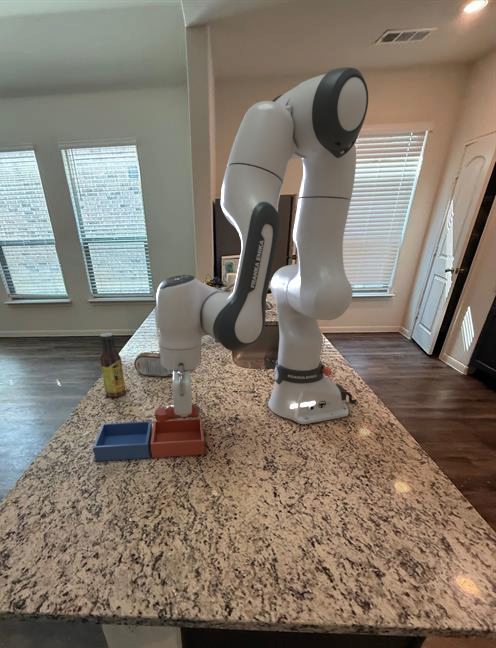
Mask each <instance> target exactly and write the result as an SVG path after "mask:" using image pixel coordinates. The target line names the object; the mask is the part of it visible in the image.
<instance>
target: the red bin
mask: <svg viewBox="0 0 496 648" xmlns="http://www.w3.org/2000/svg"><path fill="white" fill-rule="evenodd" d="M205 445H206V444H205V434H204V425H203V418H202V417H196V418H195V417H192V418H175V419H169V420H167V421H164V422H159V421H157V420H153V424H152V437H151V451H150V453H151V458H155V459H156V458H167V457H168V458H170V457H184V456H186V457H187V456H200V455H205V454H206V450H205V449H206V448H205Z"/></svg>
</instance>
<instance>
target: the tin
mask: <svg viewBox="0 0 496 648" xmlns="http://www.w3.org/2000/svg"><path fill="white" fill-rule="evenodd" d="M133 365H134V369H135V370H136V372H137V373H138V374H140V375H142V376H145V377H157V378H158V377H160V378H168V377H171V376H173V374H170V373H169V372H168V371H167V369H166V368H164V367H163V366H162V365H161V357H160V352H141V353H139V354H138V355H137V356H136V358H135V359H134V363H133Z"/></svg>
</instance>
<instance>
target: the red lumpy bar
mask: <svg viewBox="0 0 496 648" xmlns="http://www.w3.org/2000/svg"><path fill="white" fill-rule="evenodd" d="M196 405H197V404H196ZM196 405H193V403H192V413H191V414H189V415H188V416H186V417H181V416H180V415H176V414H175V413H174V405H173V404H171V405H167V406H161V407H158V408H156V409H155V410H154V419H155V421H159V422H164V421H167V420H171V419H170V418H172V419H186V418H195V417H197V416H198V415H199V413H200V411H199V410H198V407H197V406H196ZM198 412H199V413H198Z"/></svg>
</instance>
